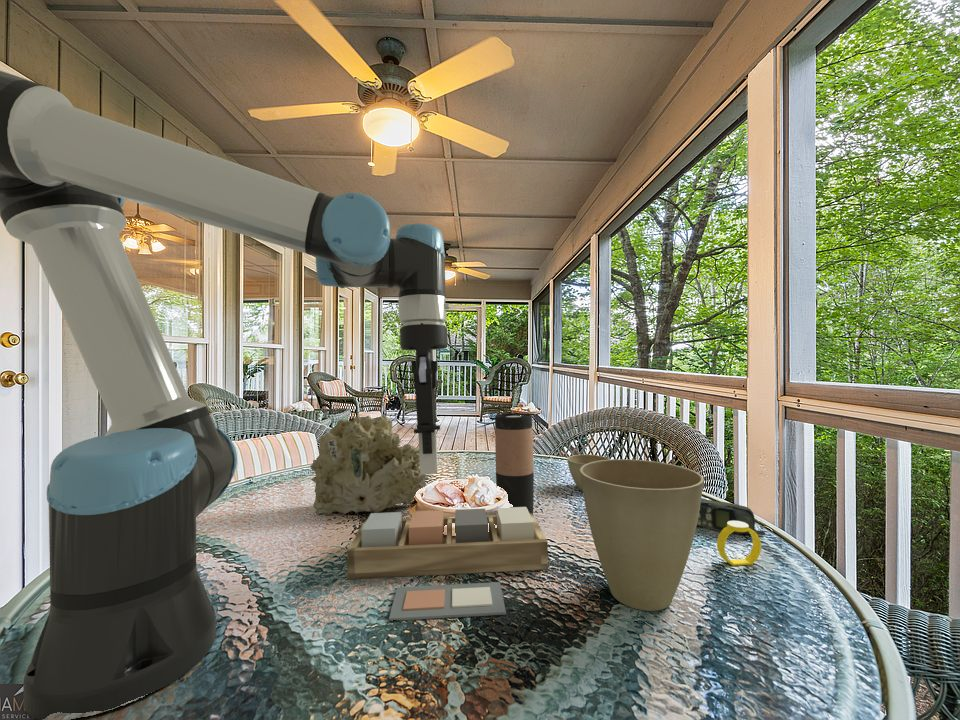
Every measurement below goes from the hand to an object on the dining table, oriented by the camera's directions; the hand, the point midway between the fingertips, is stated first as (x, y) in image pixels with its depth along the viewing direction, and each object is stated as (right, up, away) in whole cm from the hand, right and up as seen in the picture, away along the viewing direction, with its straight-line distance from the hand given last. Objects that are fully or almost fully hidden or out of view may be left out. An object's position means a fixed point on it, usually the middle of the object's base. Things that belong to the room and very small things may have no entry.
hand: (428, 472), depth 67 cm
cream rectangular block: (+14, -10, +1) cm, 17 cm away
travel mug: (+15, -13, +18) cm, 27 cm away
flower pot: (+34, -13, +34) cm, 50 cm away
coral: (-15, -14, +22) cm, 30 cm away
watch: (+47, -12, -5) cm, 48 cm away
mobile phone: (+50, -13, +9) cm, 53 cm away
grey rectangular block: (+7, -10, 0) cm, 12 cm away
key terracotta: (0, -10, 0) cm, 10 cm away
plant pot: (+29, -13, -13) cm, 34 cm away
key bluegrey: (-7, -10, -1) cm, 13 cm away
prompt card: (+4, -13, -13) cm, 19 cm away
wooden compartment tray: (+3, -13, 0) cm, 14 cm away
